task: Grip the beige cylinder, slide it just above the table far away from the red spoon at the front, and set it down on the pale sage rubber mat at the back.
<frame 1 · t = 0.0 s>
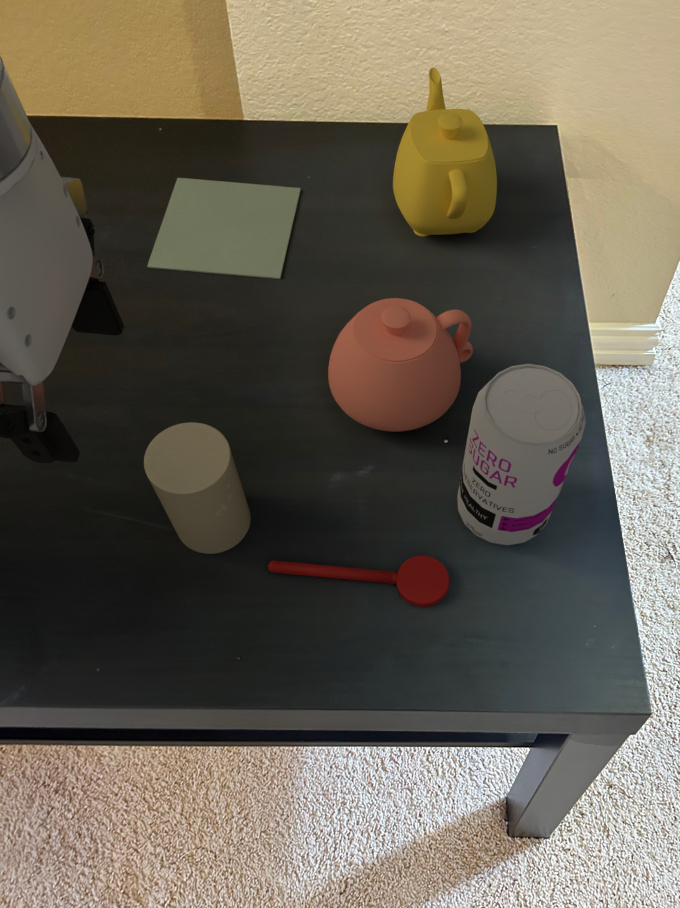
hand: (78, 390, 46), 20 cm above the table, tool pointing down, fingers open, 9 cm apart
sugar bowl: (402, 391, 72), on the table
teapot: (441, 209, 84), on the table
supplement can: (502, 508, 67), on the table
mat: (227, 227, 82), on the table
beige cylinder: (213, 521, 65), on the table
spoon: (357, 576, 63), on the table
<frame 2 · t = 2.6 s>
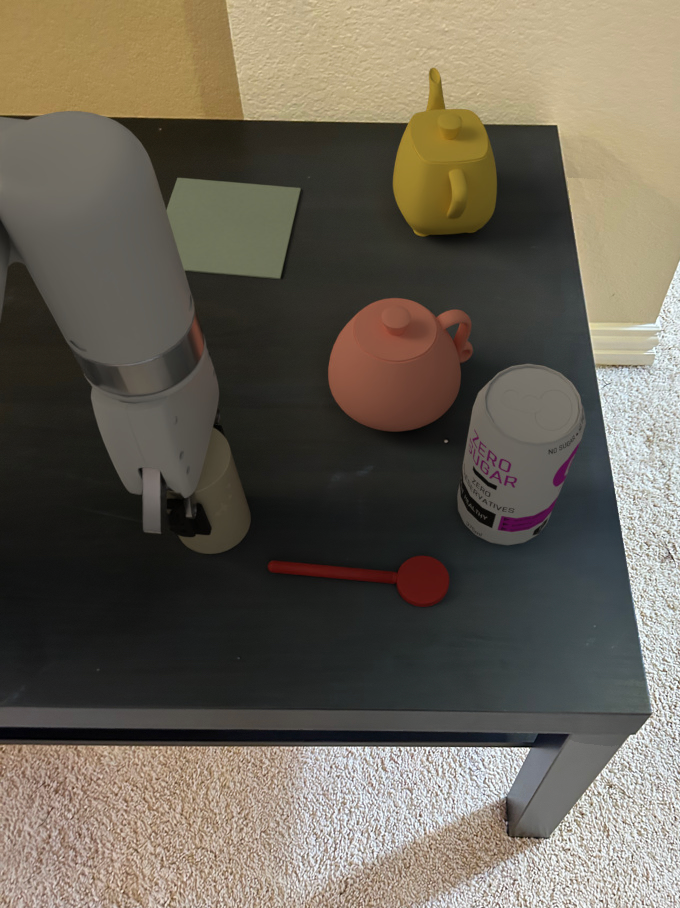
hand: (201, 490, 61), 5 cm above the table, tool pointing down, fingers closed on beige cylinder, 6 cm apart
beige cylinder: (213, 521, 65), on the table, touching gripper
everything else where it was.
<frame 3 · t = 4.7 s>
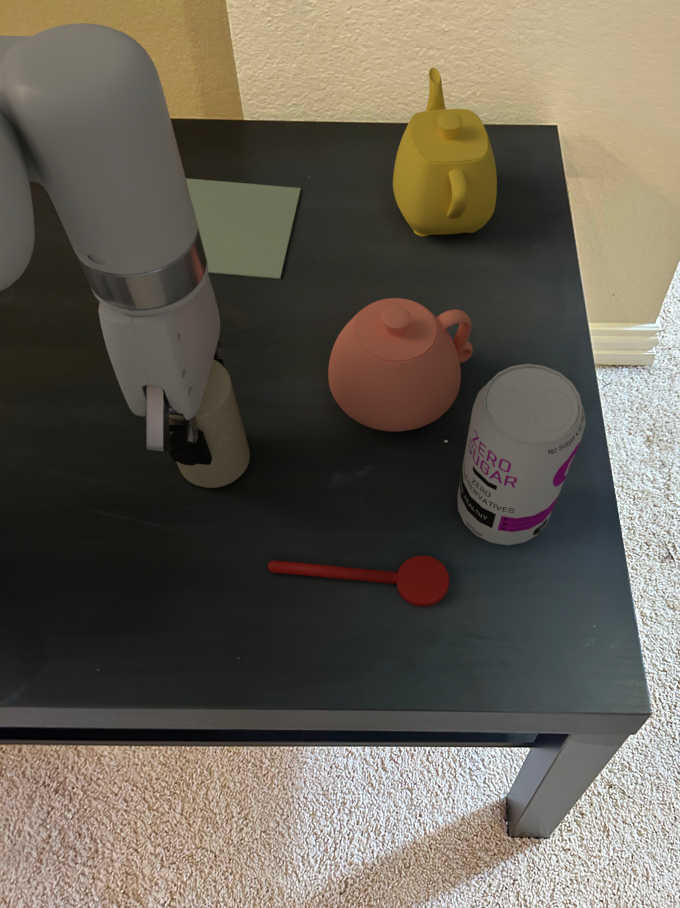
hand: (202, 423, 63), 6 cm above the table, tool pointing down, fingers closed on beige cylinder, 6 cm apart
beige cylinder: (214, 457, 67), point 1 cm above the table, touching gripper
everything else where it was.
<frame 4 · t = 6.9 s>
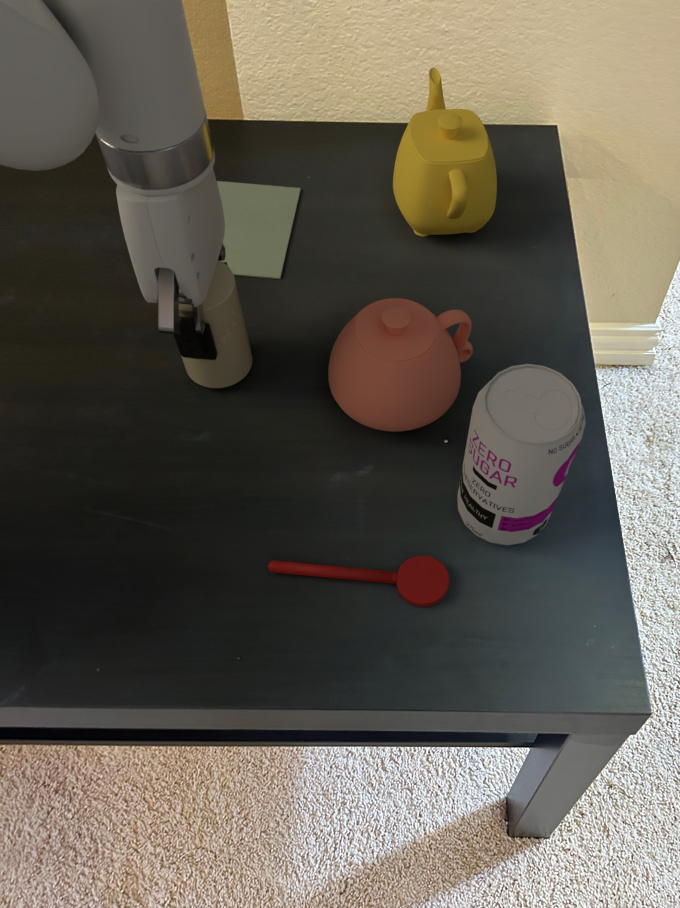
hand: (208, 324, 68), 6 cm above the table, tool pointing down, fingers closed on beige cylinder, 6 cm apart
beige cylinder: (219, 362, 72), point 1 cm above the table, touching gripper
everything else where it was.
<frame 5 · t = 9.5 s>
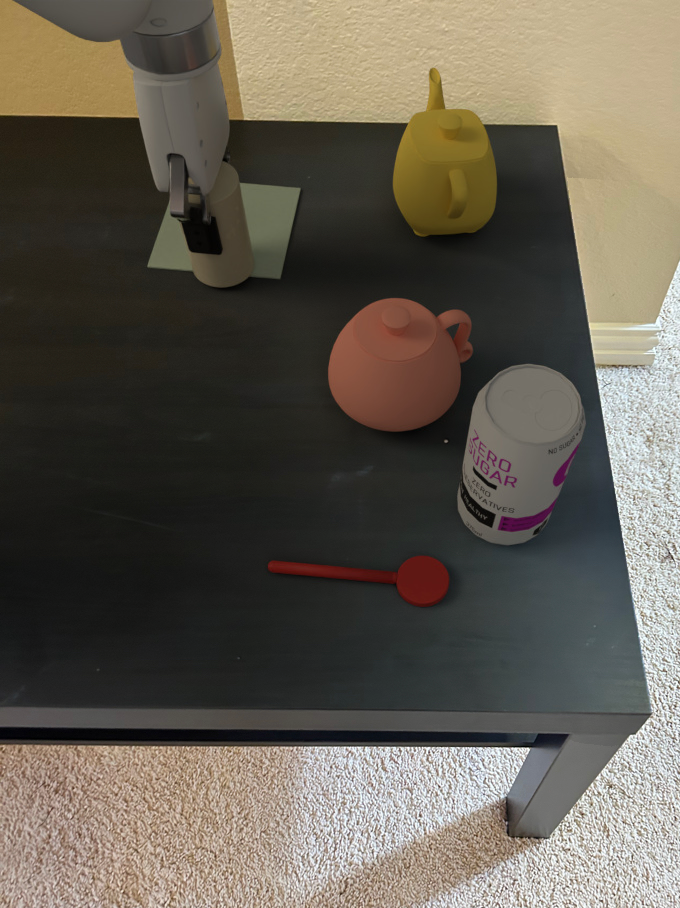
hand: (214, 224, 74), 6 cm above the table, tool pointing down, fingers closed on beige cylinder, 6 cm apart
beige cylinder: (223, 265, 78), point 1 cm above the table, touching gripper
everything else where it was.
when the fingers open (5 cm above the table, at t = 11.4 s): beige cylinder stays where it is, resting on mat.
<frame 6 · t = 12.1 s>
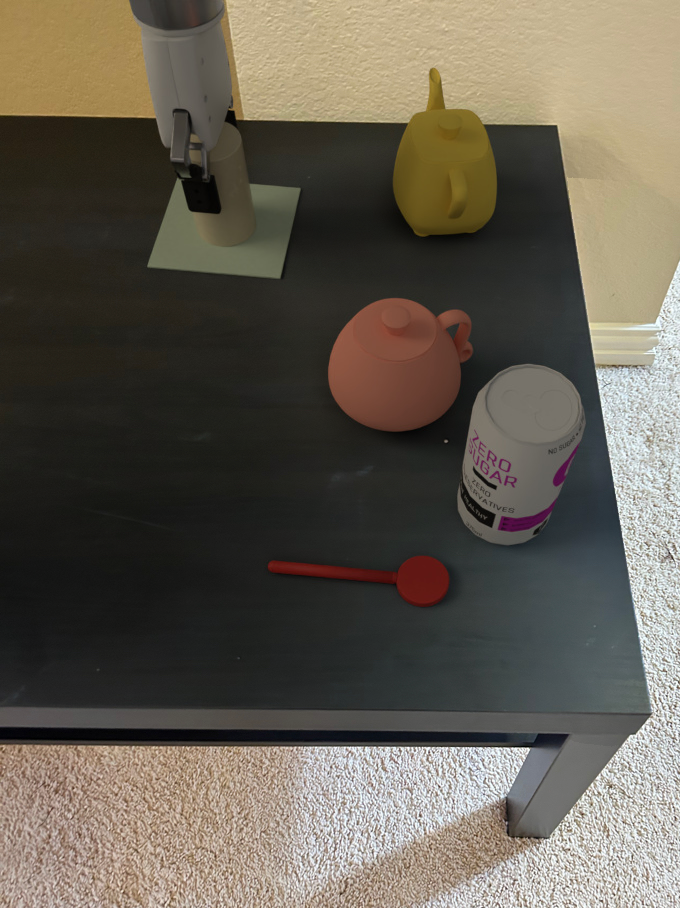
hand: (215, 178, 76), 6 cm above the table, tool pointing down, fingers open, 9 cm apart
beige cylinder: (226, 225, 82), resting on mat
everything else where it was.
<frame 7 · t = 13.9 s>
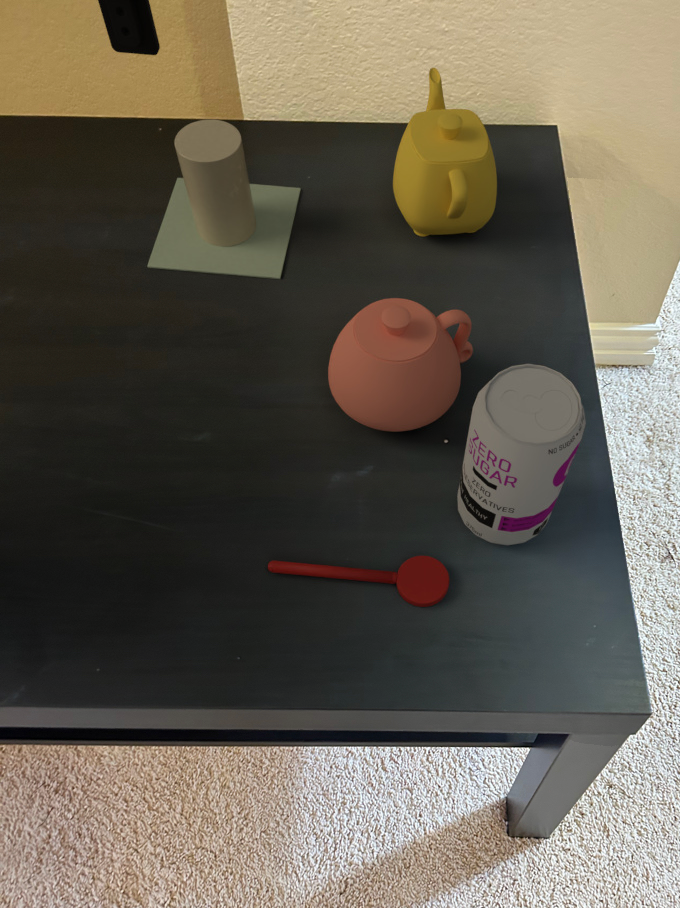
hand: (153, 12, 54), 26 cm above the table, tool pointing down, fingers open, 9 cm apart
nothing on the table moved.
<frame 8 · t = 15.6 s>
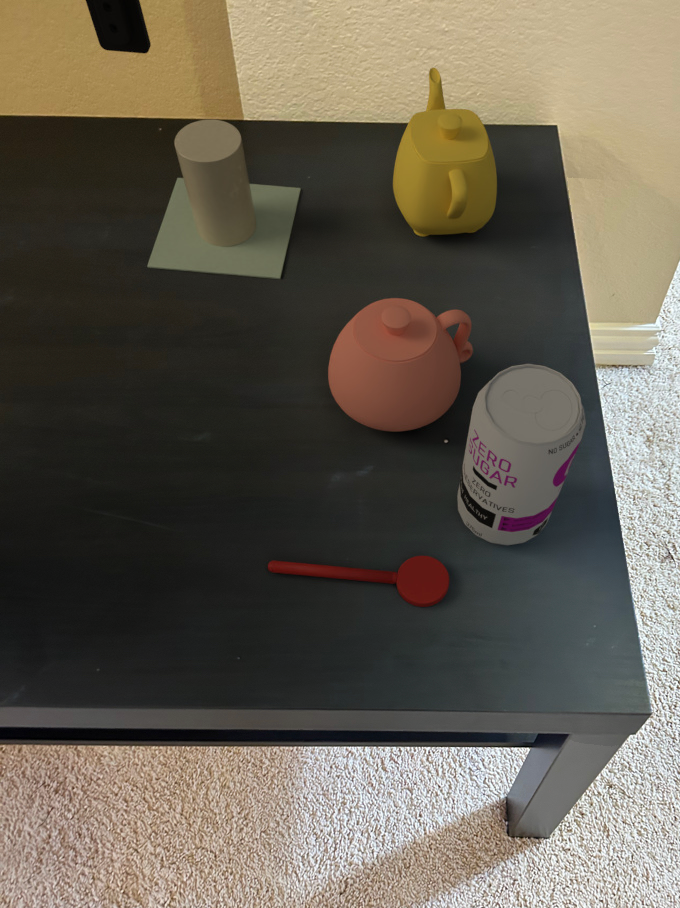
hand: (145, 7, 51), 28 cm above the table, tool pointing down, fingers open, 9 cm apart
nothing on the table moved.
at the end: beige cylinder inside the target area on the mat (0.0 cm from its centre), point 0.2 cm above the mat's base; beige cylinder tilted 0°; beige cylinder moved 36.5 cm from its start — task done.
